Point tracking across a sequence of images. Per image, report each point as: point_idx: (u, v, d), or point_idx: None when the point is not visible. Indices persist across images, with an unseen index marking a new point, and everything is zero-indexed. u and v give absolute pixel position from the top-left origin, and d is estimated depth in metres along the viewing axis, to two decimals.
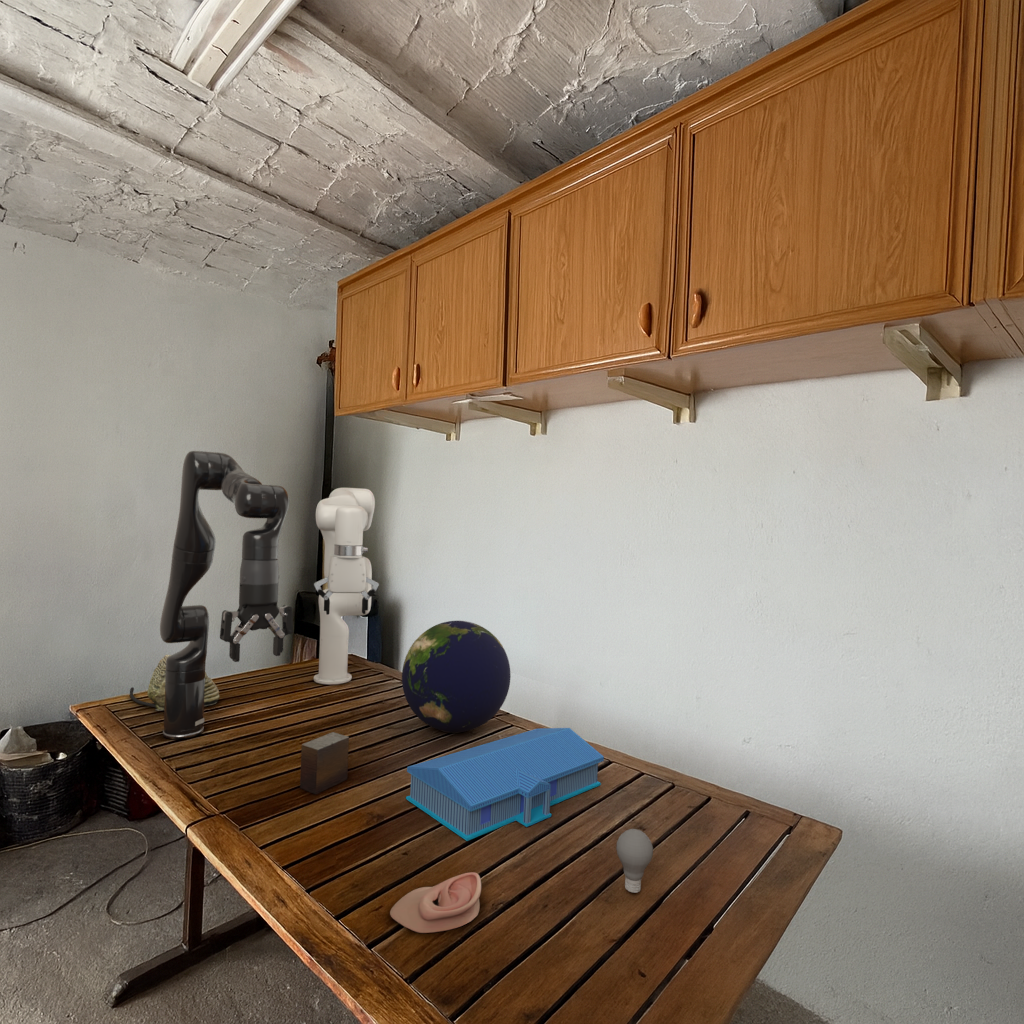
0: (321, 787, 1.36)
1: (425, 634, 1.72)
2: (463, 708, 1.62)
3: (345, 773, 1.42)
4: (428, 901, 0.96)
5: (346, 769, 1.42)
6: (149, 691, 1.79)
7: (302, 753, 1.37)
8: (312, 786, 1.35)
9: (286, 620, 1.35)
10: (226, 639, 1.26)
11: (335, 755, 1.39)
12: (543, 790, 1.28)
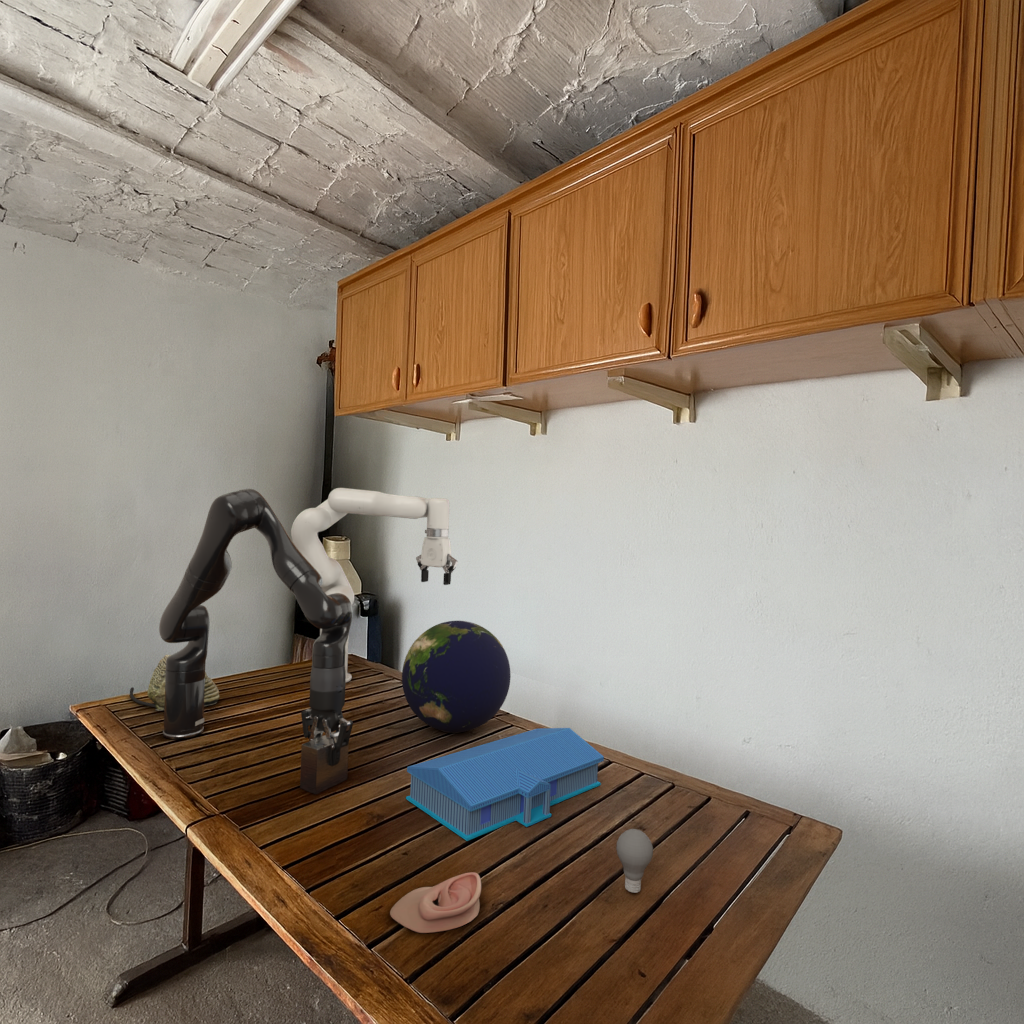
0: (321, 787, 1.36)
1: (425, 634, 1.72)
2: (463, 708, 1.62)
3: (345, 773, 1.42)
4: (428, 901, 0.96)
5: (347, 769, 1.42)
6: (149, 691, 1.79)
7: (302, 753, 1.37)
8: (312, 786, 1.35)
9: (313, 721, 1.43)
10: None
11: None
12: (543, 790, 1.28)
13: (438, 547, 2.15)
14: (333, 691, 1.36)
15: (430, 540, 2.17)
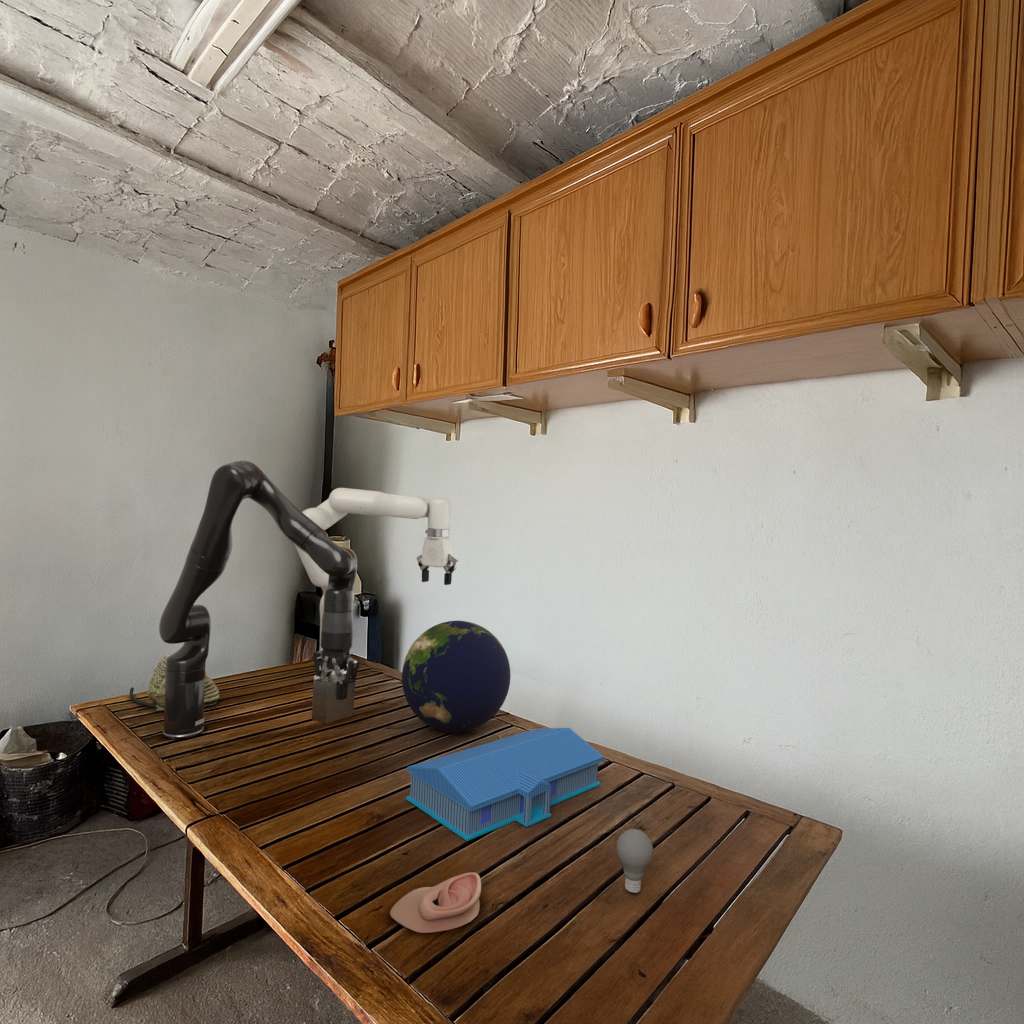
0: (330, 718, 1.52)
1: (425, 634, 1.72)
2: (463, 708, 1.62)
3: (351, 708, 1.58)
4: (428, 901, 0.96)
5: (353, 705, 1.59)
6: (149, 691, 1.79)
7: (314, 688, 1.53)
8: (323, 717, 1.52)
9: (323, 662, 1.59)
10: None
11: None
12: (543, 790, 1.28)
13: (439, 547, 2.16)
14: (342, 633, 1.53)
15: (431, 540, 2.17)
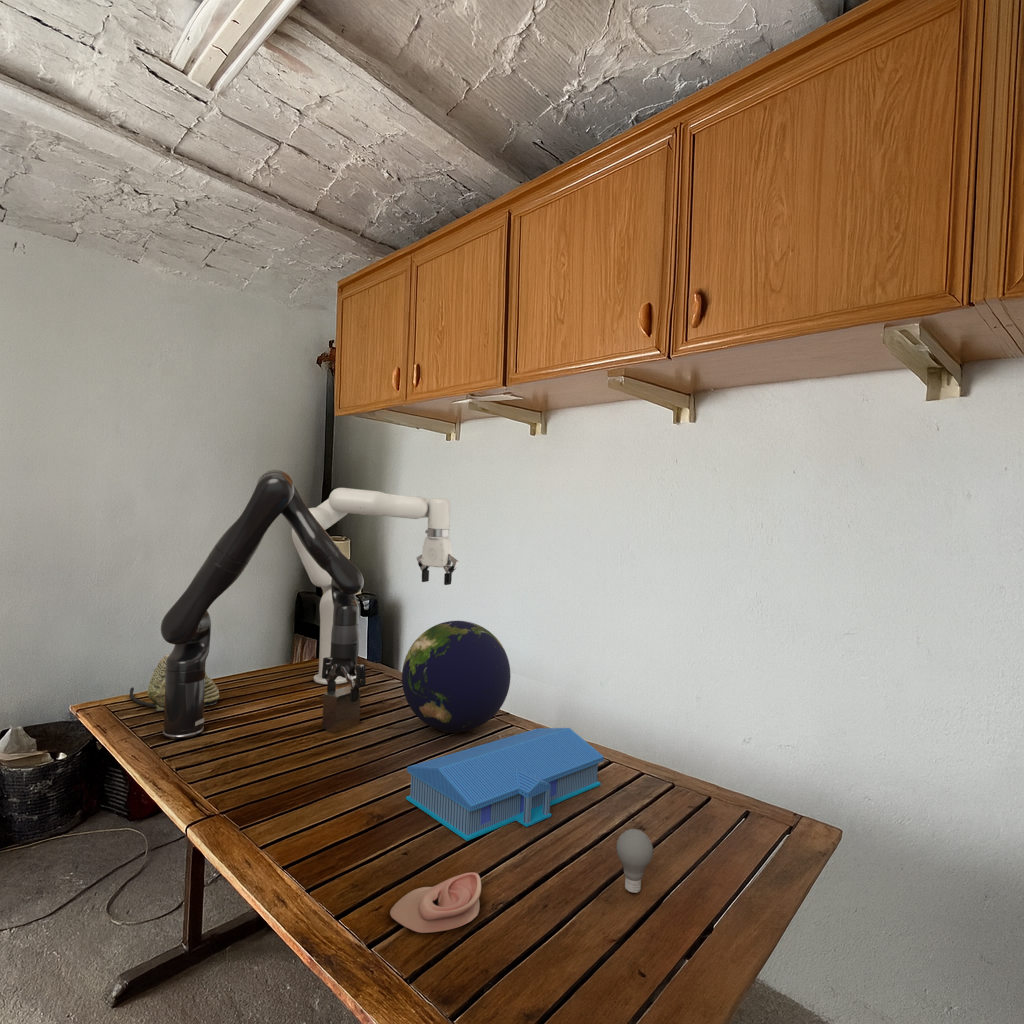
0: (339, 727, 1.71)
1: (425, 634, 1.72)
2: (463, 708, 1.62)
3: (357, 718, 1.77)
4: (428, 901, 0.96)
5: (359, 715, 1.77)
6: (149, 691, 1.79)
7: (324, 700, 1.72)
8: (332, 726, 1.70)
9: (330, 667, 1.78)
10: None
11: (350, 703, 1.74)
12: (543, 790, 1.28)
13: (439, 547, 2.16)
14: (349, 644, 1.71)
15: (431, 540, 2.17)
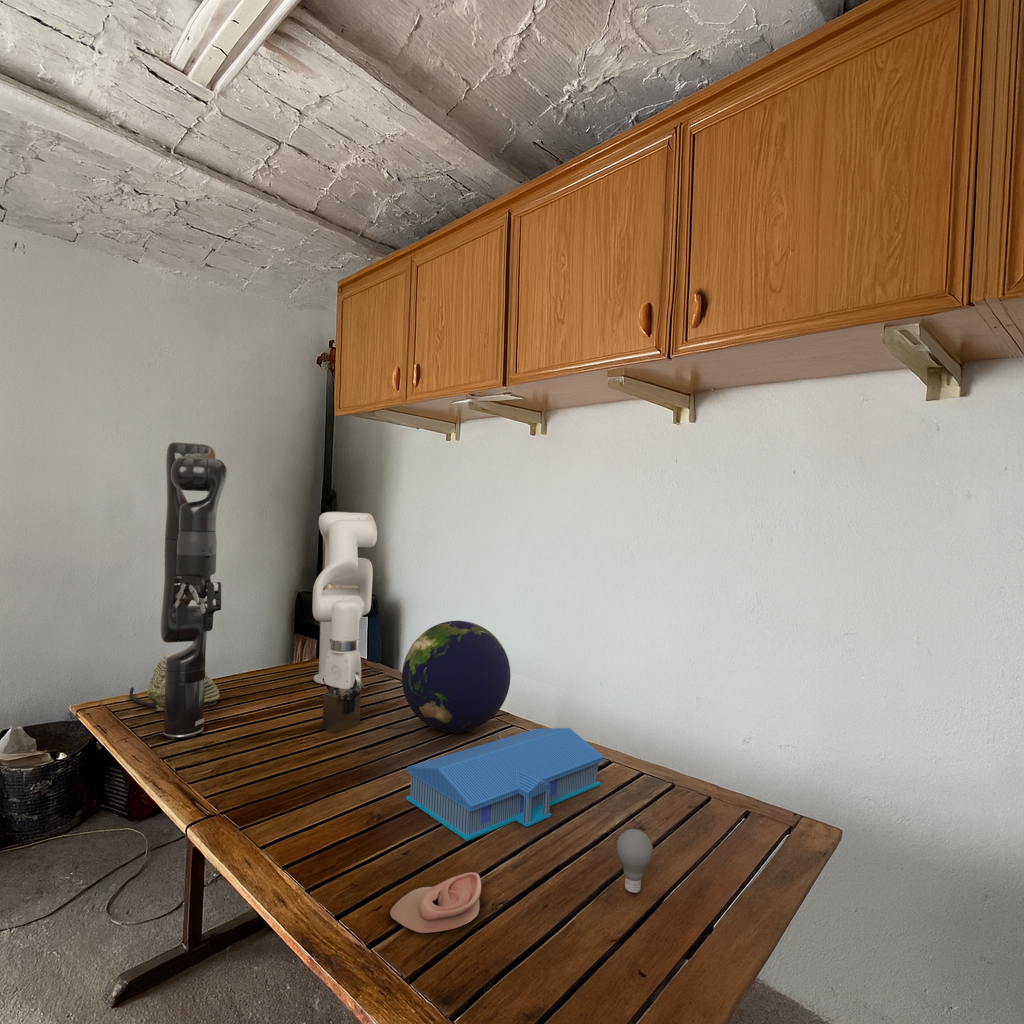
0: (339, 727, 1.71)
1: (425, 634, 1.72)
2: (463, 708, 1.62)
3: (357, 718, 1.77)
4: (428, 901, 0.96)
5: (359, 715, 1.77)
6: (149, 691, 1.79)
7: (324, 700, 1.72)
8: (332, 726, 1.70)
9: None
10: None
11: None
12: (543, 790, 1.28)
13: (343, 664, 1.71)
14: (199, 555, 1.31)
15: (335, 655, 1.73)
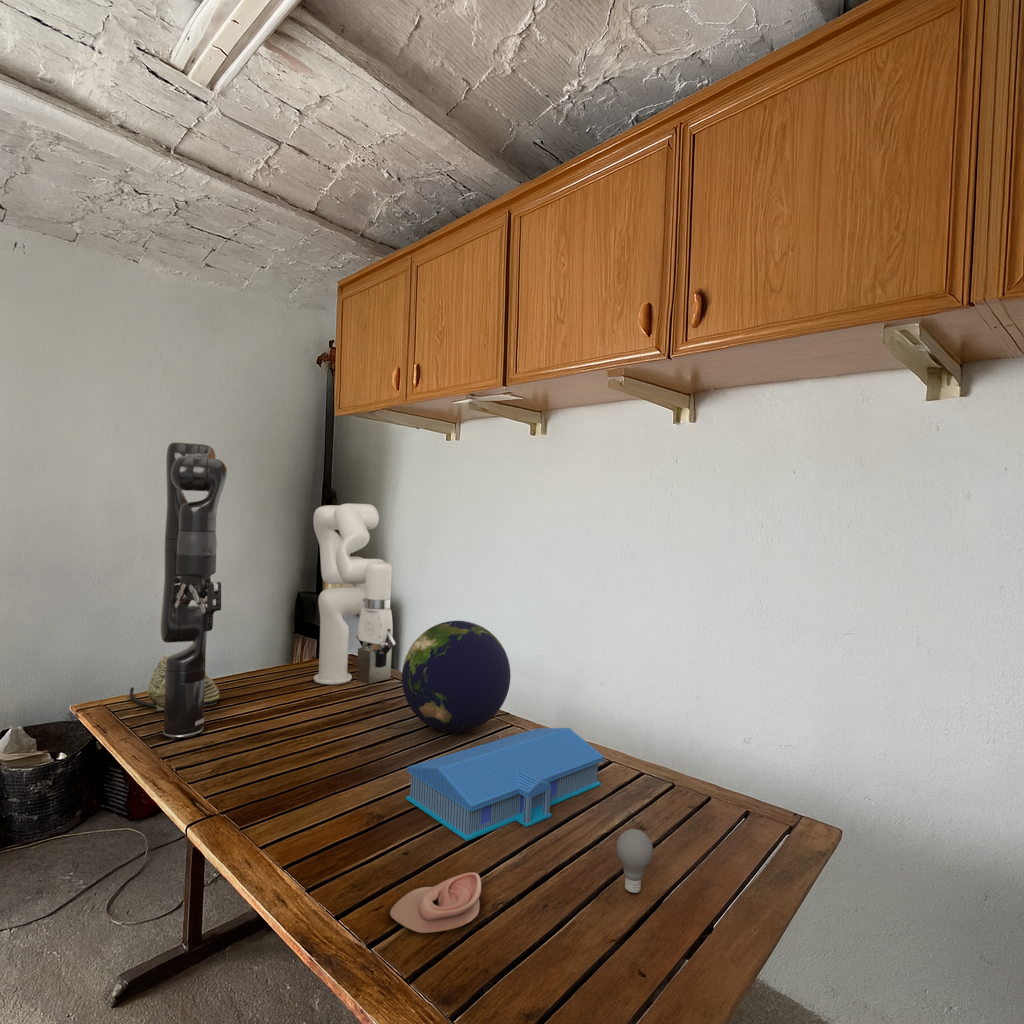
0: (372, 680, 1.84)
1: (425, 634, 1.72)
2: (463, 708, 1.62)
3: (388, 672, 1.90)
4: (428, 901, 0.96)
5: (390, 670, 1.90)
6: (149, 691, 1.79)
7: (358, 655, 1.85)
8: (366, 678, 1.83)
9: None
10: None
11: None
12: (543, 790, 1.28)
13: (376, 621, 1.84)
14: (199, 555, 1.31)
15: (368, 612, 1.85)
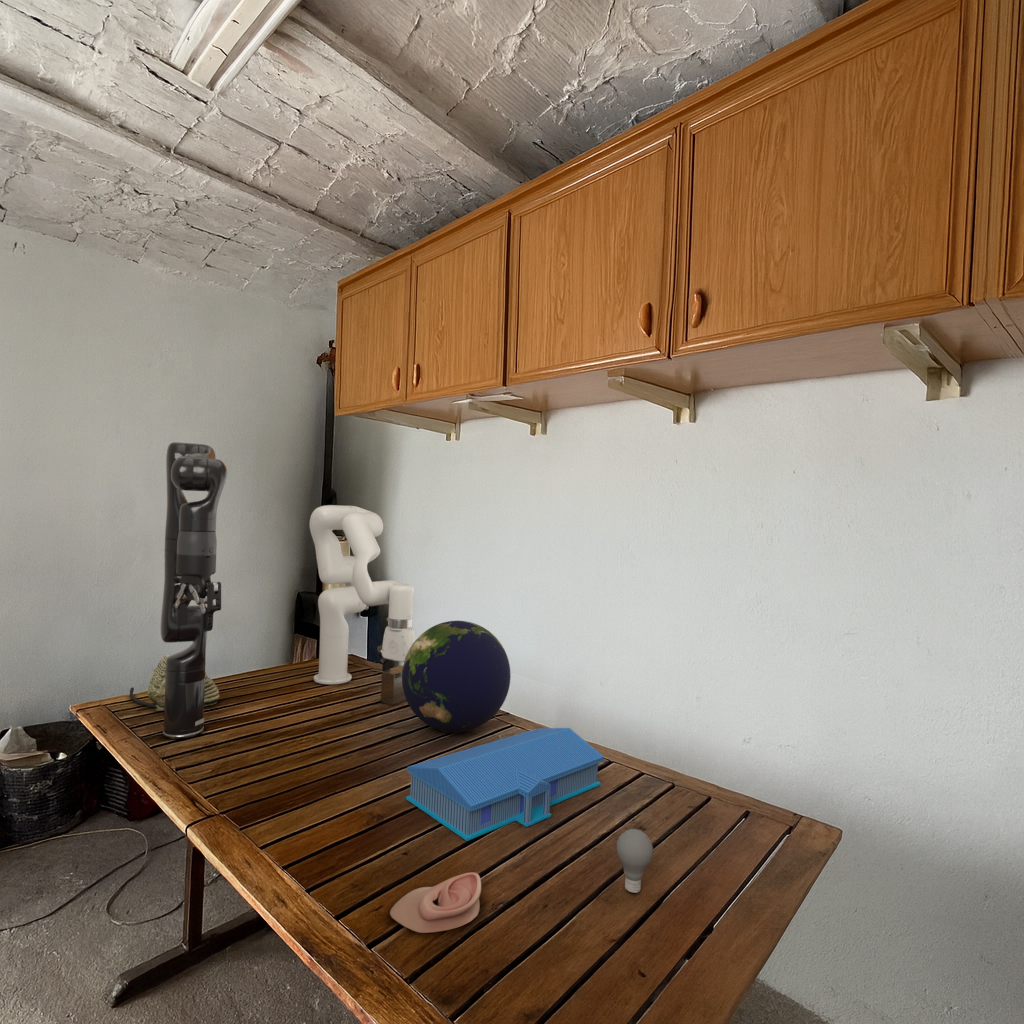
0: (395, 701, 1.95)
1: (425, 634, 1.72)
2: (463, 708, 1.62)
3: None
4: (428, 901, 0.96)
5: None
6: (149, 691, 1.79)
7: (382, 677, 1.96)
8: (390, 700, 1.94)
9: None
10: None
11: None
12: (543, 790, 1.28)
13: (400, 640, 1.95)
14: (199, 555, 1.31)
15: (392, 631, 1.97)
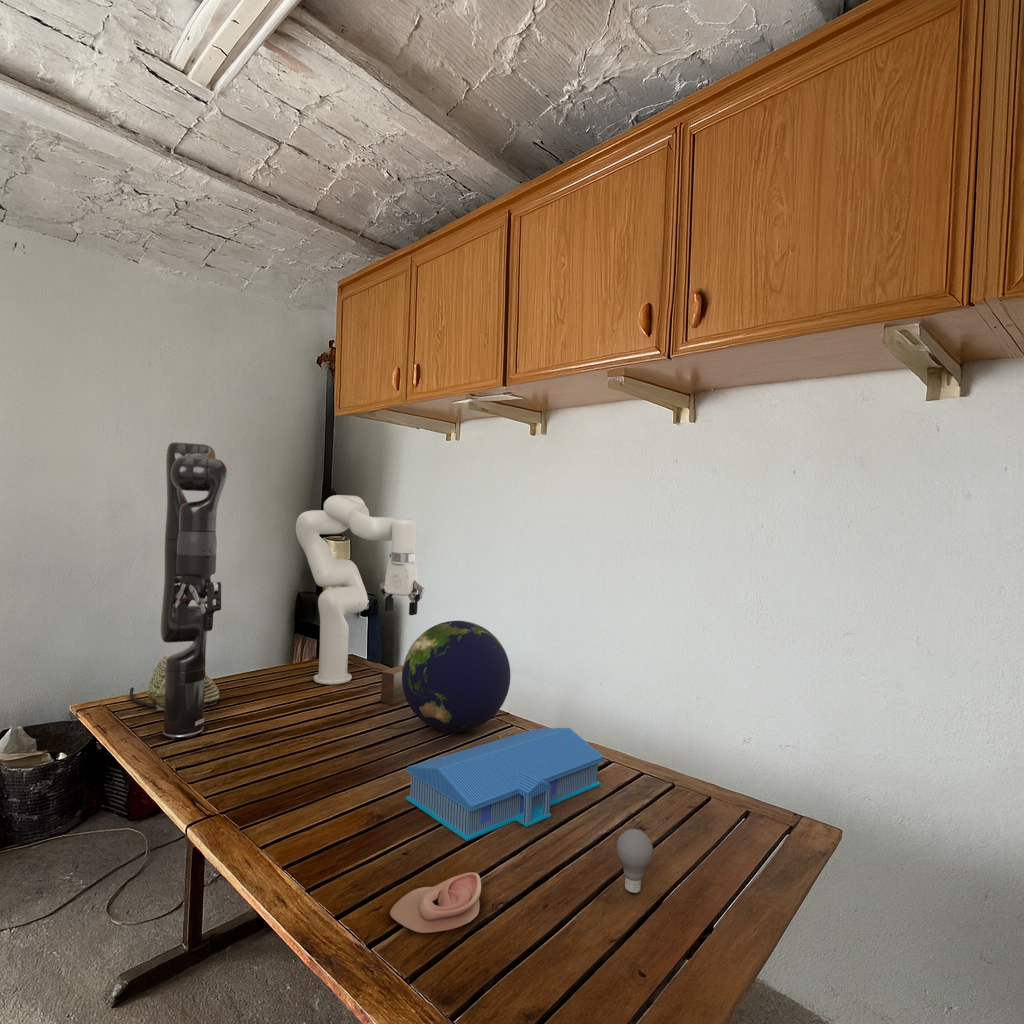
0: (395, 701, 1.95)
1: (425, 634, 1.72)
2: (463, 708, 1.62)
3: None
4: (428, 901, 0.96)
5: None
6: (149, 691, 1.79)
7: (382, 677, 1.96)
8: (390, 700, 1.94)
9: None
10: None
11: None
12: (543, 790, 1.28)
13: (403, 573, 1.95)
14: (199, 555, 1.31)
15: (395, 566, 1.96)
